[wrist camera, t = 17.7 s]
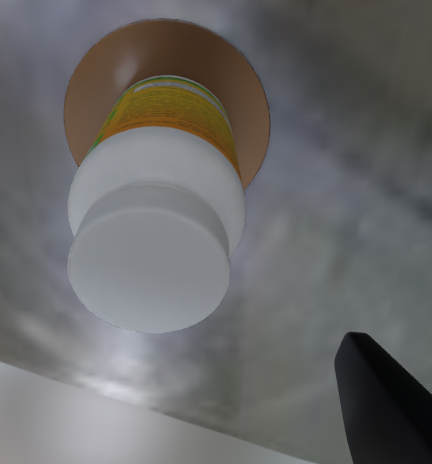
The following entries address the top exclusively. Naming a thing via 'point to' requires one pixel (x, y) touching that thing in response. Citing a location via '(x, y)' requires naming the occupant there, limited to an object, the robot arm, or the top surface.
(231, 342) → the top surface
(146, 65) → the coaster
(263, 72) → the top surface
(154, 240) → the supplement bottle
